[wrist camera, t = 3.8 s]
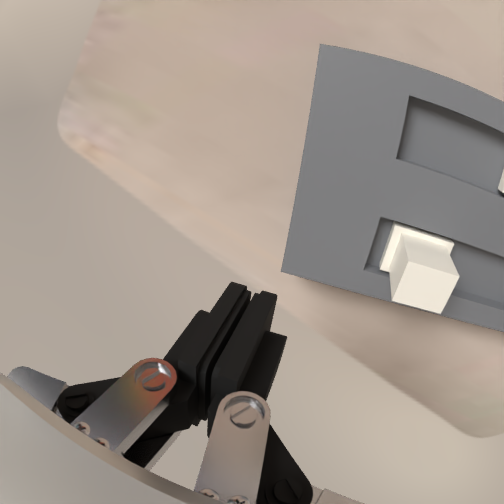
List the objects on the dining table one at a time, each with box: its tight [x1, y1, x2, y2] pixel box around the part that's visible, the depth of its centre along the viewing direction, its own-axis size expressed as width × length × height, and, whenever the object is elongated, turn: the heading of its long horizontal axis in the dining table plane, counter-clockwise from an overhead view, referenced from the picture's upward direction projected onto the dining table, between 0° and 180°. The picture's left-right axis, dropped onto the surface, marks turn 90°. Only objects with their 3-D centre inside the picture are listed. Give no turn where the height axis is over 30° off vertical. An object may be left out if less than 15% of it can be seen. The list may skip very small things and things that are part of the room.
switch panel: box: [281, 44, 504, 332], centre depth 16 cm, size 22×14×3 cm, turn 83°
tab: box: [380, 221, 460, 314], centre depth 16 cm, size 4×3×4 cm
